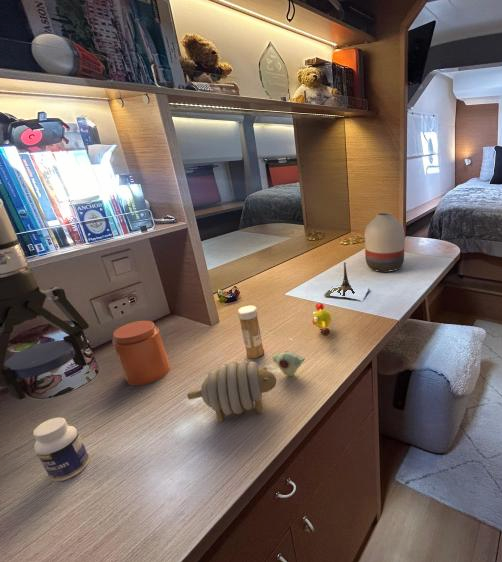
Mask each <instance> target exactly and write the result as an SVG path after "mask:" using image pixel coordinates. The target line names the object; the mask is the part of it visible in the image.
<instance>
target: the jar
mask: <svg viewBox="0 0 502 562" xmlns="http://www.w3.org/2000/svg"><path fill="white" fill-rule="evenodd" d="M163 341H164V340H163V339H162V335H161V331H160V329H159V327H158V326H156V325H155V323H154V322H153V321H151V320H138V321H132V322H130V323H127V324H124V325H122V326H120V327H118V328H117V329H116V330H114V332H113V334H112V341H111V343H112V345H113V348H114V351H115V354H116V356H117V359H118V361H119V364H120V368H121V370H122V371H123V375H124V377H125V380H126V382H127V384H128V385H131V386H145V385H148V384H151V383H154V382H156V381H158V380H160V379H162V378H163V377H164V376H166V375H167V374H168V373H169V371H170V369H171V363H170V361H169V358H168V355H167V351H166V349H165V348H166V347H165V345H164V342H163Z"/></svg>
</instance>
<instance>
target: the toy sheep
mask: <svg viewBox="0 0 502 562" xmlns="http://www.w3.org/2000/svg"><path fill="white" fill-rule="evenodd" d="M276 386H277V378H276V375H275V374H273V372H271V371H269V370H268V369H267V367H266V366H262V368H260V367H259V365H258V363H257V362H256V361H250V362H249V363H248V362H247V361H246V360H241V361H240V362H237V361H236V360H232V361H231V362H229V363H228V364H224V363H223V364H221V365H220V366H219V367H218V369H216V368H215V369H212V370H210V371H209V372H208V374H207V376H206V377H205V378H204V380H203V382H202V384H201V388H200V389H196V390H192V391H189V392H188V393H187V399H188V400H193V399H199V398H202V401H203V402H204V404H205V405H206V406H208V407H209V408H211V409H212V410H213V411H215V416H216V419H217V422H218V423H222V422H224V421H225V415H227V416H229V415H232V414H233V413H234V414H235V415H240V414H242V413H243V412H244V411H245V410H247V411H249V410H251V409H253V407H254V404H255V408H256V412H257V414H258V413H259V414H260V413H262V412H264V407H263V403H262V398H263V393H268V392H269V391H272V390H273V389H274V388H275V387H276ZM224 414H225V415H224Z"/></svg>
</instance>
